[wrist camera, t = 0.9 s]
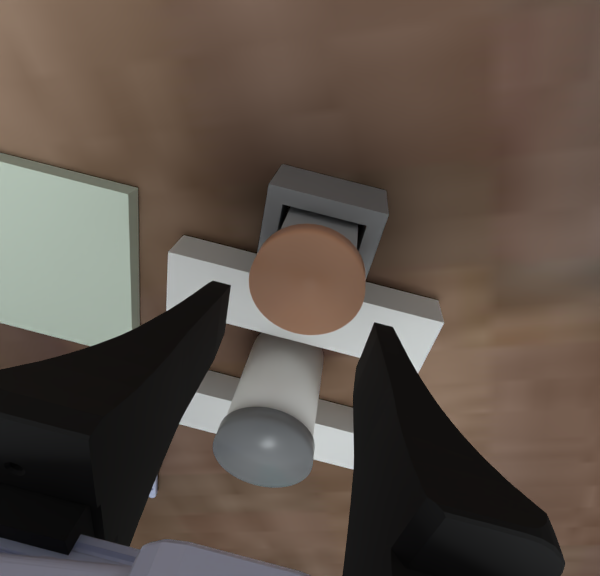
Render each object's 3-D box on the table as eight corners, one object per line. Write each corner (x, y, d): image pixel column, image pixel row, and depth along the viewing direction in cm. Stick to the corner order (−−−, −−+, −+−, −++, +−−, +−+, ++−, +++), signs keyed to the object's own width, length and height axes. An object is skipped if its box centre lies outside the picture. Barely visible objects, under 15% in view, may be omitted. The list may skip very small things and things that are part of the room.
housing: (366, 447, 29) (366, 487, 26) (174, 397, 29) (156, 432, 26) (480, 214, 19) (497, 242, 16) (188, 140, 19) (161, 156, 16)
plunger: (351, 288, 20) (347, 346, 16) (265, 265, 20) (241, 319, 16) (378, 206, 18) (381, 252, 14) (281, 181, 18) (257, 221, 14)
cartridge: (316, 391, 26) (300, 496, 20) (245, 372, 27) (208, 472, 20) (335, 336, 24) (323, 438, 18) (256, 315, 24) (217, 410, 18)
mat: (140, 346, 27) (132, 357, 26) (-22, 305, 27) (-34, 313, 26) (137, 187, 21) (128, 194, 20) (-71, 134, 21) (-89, 138, 20)
